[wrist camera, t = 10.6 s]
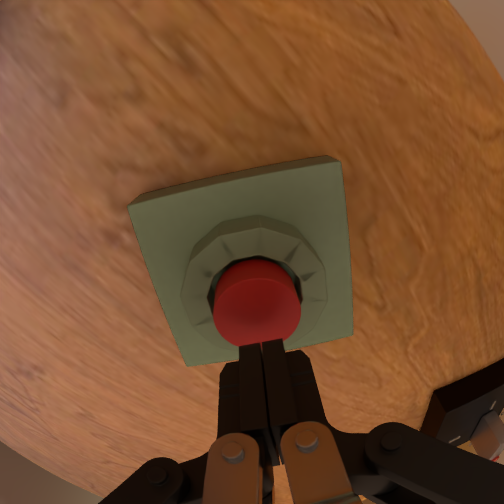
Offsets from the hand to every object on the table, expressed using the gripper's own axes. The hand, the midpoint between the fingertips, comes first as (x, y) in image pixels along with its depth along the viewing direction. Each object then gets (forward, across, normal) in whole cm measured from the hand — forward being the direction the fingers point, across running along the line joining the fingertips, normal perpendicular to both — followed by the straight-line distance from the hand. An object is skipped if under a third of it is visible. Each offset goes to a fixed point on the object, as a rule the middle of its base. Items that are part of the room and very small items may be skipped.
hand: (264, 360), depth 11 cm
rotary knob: (+5, -21, +24) cm, 32 cm away
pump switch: (+8, 0, 0) cm, 8 cm away
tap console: (+8, -20, +23) cm, 31 cm away
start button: (+4, 0, 0) cm, 4 cm away
